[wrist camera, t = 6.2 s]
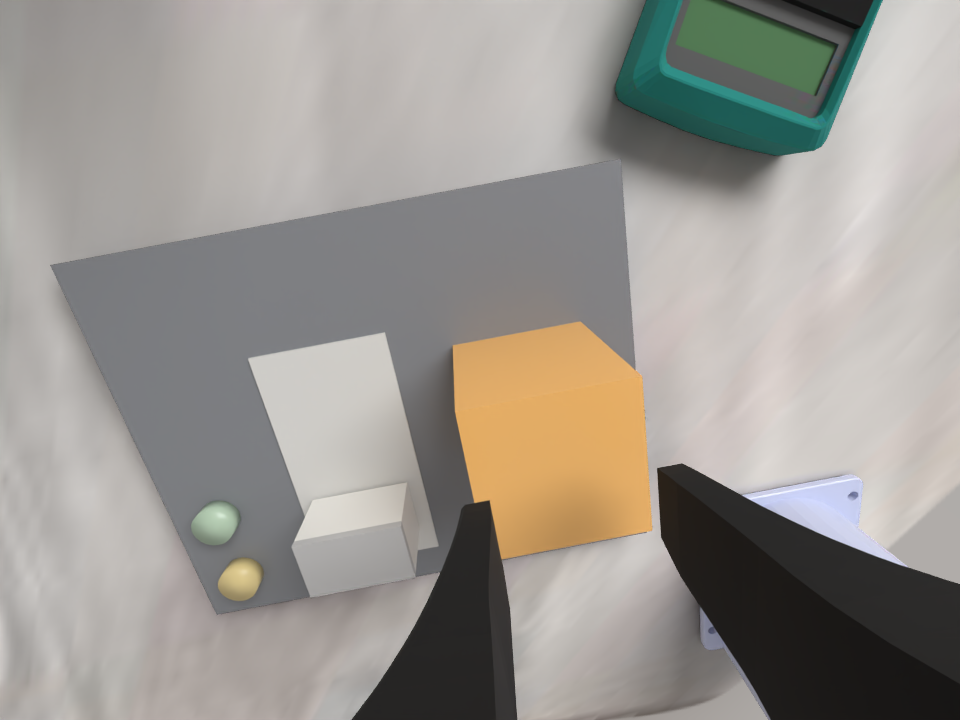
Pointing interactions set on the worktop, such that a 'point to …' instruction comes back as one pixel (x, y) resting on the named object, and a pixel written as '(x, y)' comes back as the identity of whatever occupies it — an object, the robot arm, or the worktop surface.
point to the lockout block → (553, 438)
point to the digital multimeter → (746, 68)
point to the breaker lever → (358, 540)
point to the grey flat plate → (337, 355)
